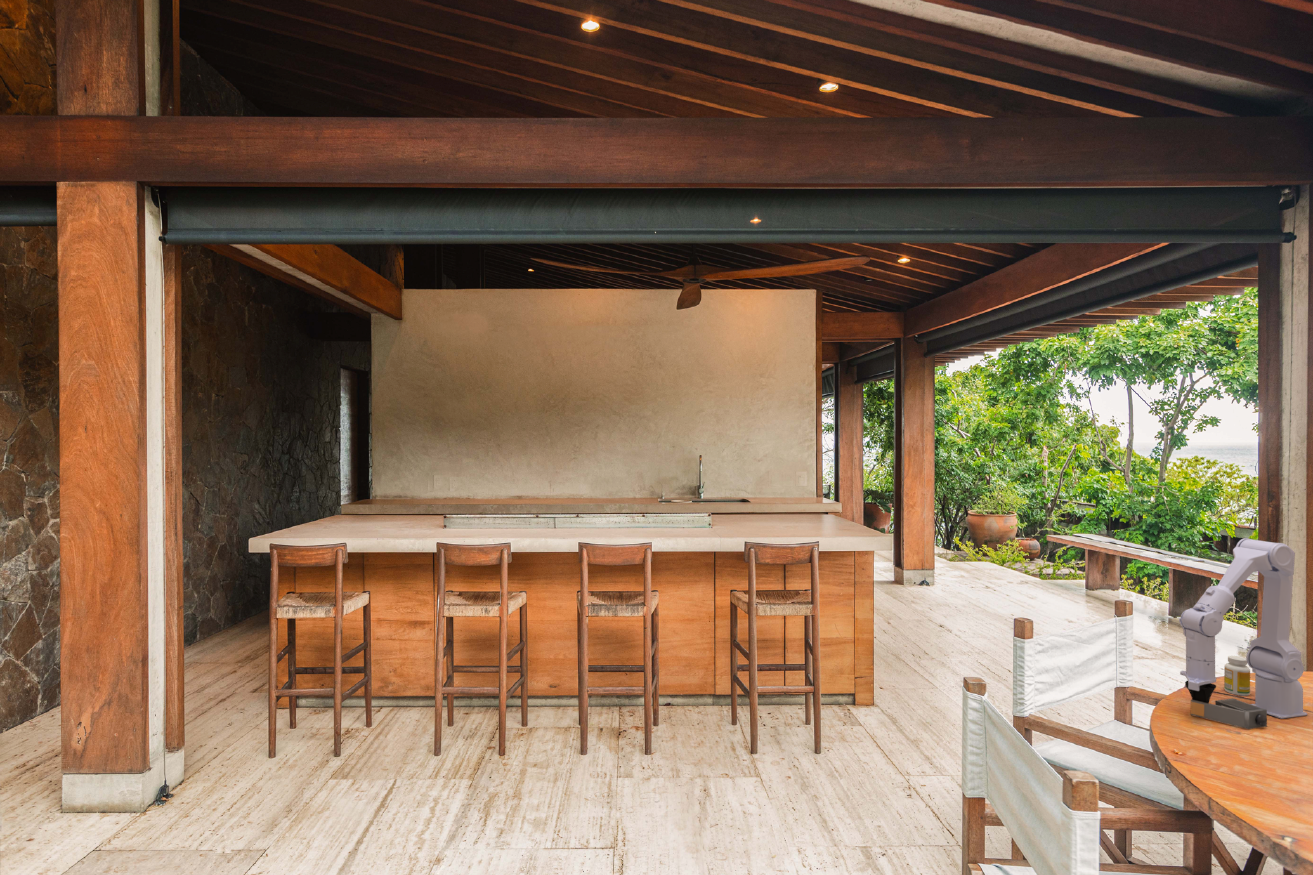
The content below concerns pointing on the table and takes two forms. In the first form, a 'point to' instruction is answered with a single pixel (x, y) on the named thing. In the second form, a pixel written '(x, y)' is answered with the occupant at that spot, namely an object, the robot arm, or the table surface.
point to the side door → (1220, 714)
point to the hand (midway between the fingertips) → (1200, 711)
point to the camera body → (1255, 713)
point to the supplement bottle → (1237, 676)
